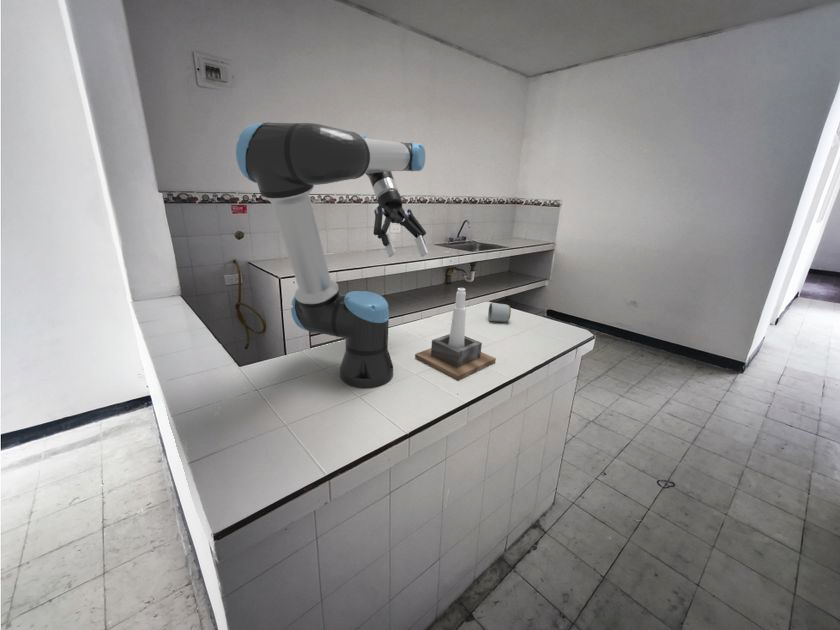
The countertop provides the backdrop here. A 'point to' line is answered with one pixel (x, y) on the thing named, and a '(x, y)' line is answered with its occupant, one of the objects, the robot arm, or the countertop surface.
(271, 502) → the countertop surface
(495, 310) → the ceramic mug
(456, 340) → the cosmetic bottle
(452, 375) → the bottle holder
